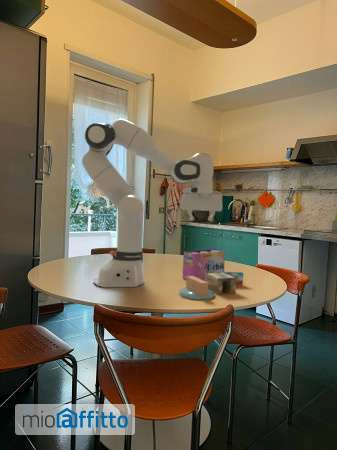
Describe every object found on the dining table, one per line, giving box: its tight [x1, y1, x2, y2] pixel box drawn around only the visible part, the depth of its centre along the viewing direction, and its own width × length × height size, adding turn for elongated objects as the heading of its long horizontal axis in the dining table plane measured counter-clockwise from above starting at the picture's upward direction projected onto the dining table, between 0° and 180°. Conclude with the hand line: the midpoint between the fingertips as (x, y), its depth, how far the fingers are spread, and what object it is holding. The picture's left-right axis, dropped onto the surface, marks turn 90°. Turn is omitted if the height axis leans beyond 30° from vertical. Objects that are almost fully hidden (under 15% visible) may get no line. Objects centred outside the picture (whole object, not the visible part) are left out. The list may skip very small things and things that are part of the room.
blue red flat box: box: [217, 271, 244, 287], centre depth 146 cm, size 12×2×6 cm, turn 98°
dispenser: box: [204, 273, 237, 295], centre depth 135 cm, size 9×11×7 cm
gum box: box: [181, 248, 226, 281], centre depth 159 cm, size 24×8×14 cm, turn 130°
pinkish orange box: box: [185, 276, 208, 296], centre depth 127 cm, size 3×12×5 cm, turn 24°
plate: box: [178, 287, 215, 301], centre depth 127 cm, size 14×14×1 cm
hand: (201, 220), depth 144 cm, fingers open, 8 cm apart
